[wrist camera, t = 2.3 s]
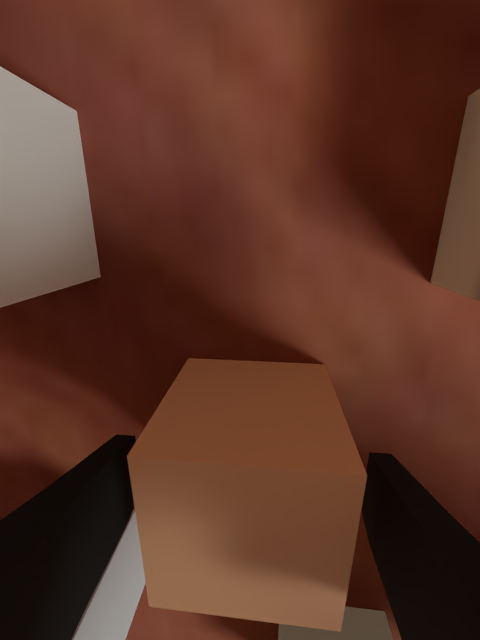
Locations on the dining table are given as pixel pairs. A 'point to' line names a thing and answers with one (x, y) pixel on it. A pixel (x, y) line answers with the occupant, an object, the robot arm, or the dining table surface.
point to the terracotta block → (249, 494)
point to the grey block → (115, 591)
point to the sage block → (344, 628)
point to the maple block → (462, 213)
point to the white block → (41, 195)
